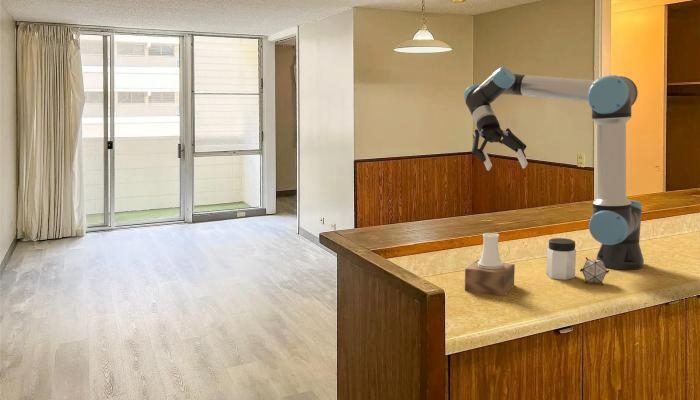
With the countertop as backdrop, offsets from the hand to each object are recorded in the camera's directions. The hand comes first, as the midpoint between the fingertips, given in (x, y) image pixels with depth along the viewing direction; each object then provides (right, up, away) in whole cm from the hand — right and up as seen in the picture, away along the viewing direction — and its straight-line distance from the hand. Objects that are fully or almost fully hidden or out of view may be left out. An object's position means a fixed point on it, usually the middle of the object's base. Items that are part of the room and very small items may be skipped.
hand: (507, 167), depth 201 cm
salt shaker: (-10, -32, -16) cm, 37 cm away
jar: (+16, -37, -5) cm, 40 cm away
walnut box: (-10, -39, -16) cm, 43 cm away
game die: (+24, -38, -13) cm, 46 cm away
